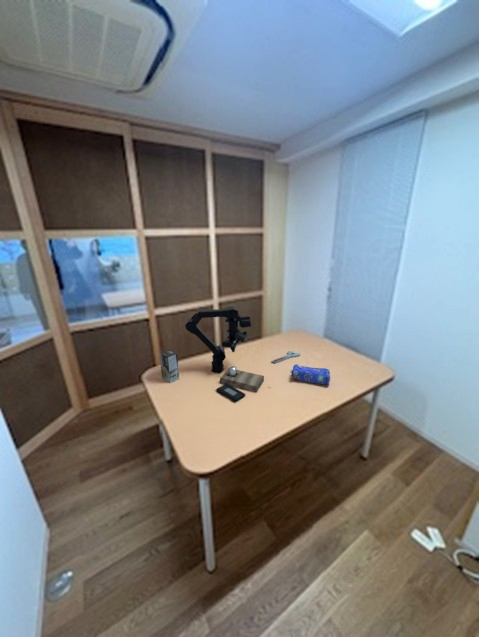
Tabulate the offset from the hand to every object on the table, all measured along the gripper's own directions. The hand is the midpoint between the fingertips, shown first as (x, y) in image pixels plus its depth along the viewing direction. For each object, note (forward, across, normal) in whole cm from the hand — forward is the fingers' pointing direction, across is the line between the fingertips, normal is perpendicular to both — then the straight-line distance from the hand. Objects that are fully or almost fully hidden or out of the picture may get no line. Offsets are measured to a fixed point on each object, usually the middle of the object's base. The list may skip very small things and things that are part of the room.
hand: (233, 352), depth 157 cm
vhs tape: (+13, -24, -9) cm, 29 cm away
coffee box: (+12, -24, +30) cm, 40 cm away
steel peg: (+12, -11, -4) cm, 17 cm away
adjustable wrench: (+13, +30, -26) cm, 42 cm away
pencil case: (+13, +6, -46) cm, 48 cm away
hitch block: (+12, -11, -9) cm, 19 cm away
